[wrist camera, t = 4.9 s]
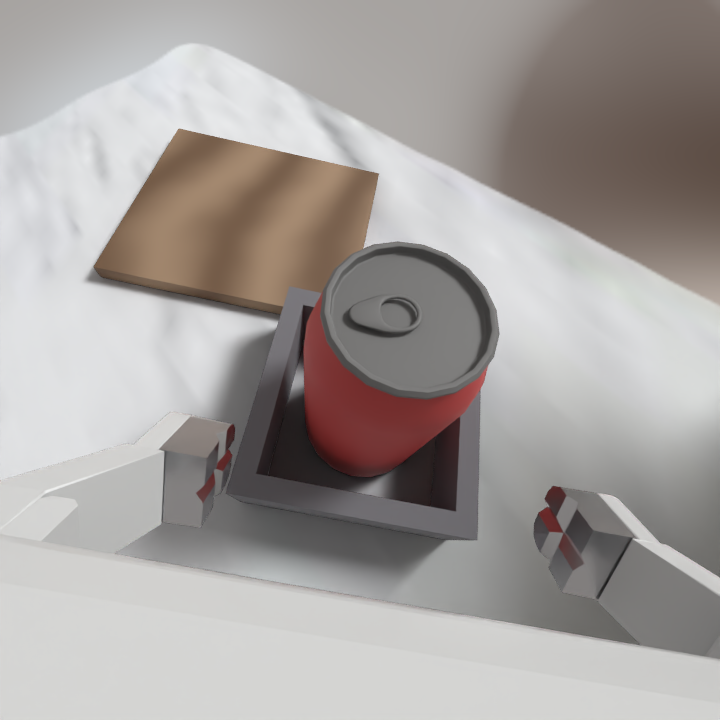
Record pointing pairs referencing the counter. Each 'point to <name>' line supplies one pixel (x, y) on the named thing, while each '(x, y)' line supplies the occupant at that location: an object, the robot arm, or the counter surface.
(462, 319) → the beer can
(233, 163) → the walnut board
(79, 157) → the counter surface
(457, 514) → the can collar
